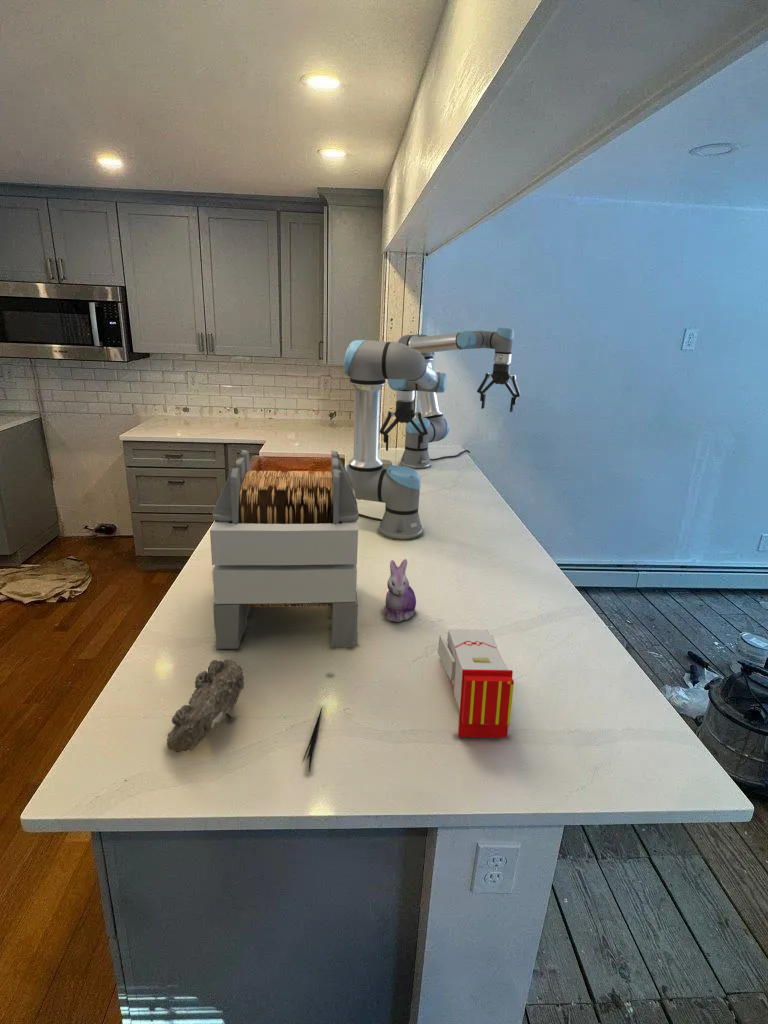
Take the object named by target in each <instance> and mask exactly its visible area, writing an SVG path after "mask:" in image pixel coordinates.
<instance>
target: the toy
mask: <svg viewBox="0 0 768 1024" xmlns="http://www.w3.org/2000/svg"><path fill="white" fill-rule="evenodd" d="M446 640H447V643H446V641H445V639H444V636H443V635H442V634H439V637H438V646H437V656H438V657H439V659H440V661H441V663H442V666H443V668H444V670H445V672H446V674H447V677H448V679H449V681H450V684H451V687H452V690H453V693H454V697H455V701H456V705H457V708H458V711H459V714H458V715H459V716H458V730H457V731H458V732H457V737H458V738H508V731H509V726H510V725H511V717H512V707H513V697H514V696H513V695H514V684H515V680H514V679H513V673H514V671H513V670H512V669H508V667H507V665H506V662H505V661H504V659H503V658H502V655H501V653H500V651H499V649H498V647H497V643H496V639H495V637H494V635H493V634H491V632H490V631H489V629H467V628H466V629H465V628H463V629H461V628H460V629H459V628H448V630H447V639H446Z"/></svg>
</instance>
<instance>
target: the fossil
mask: <svg viewBox="0 0 768 1024" xmlns="http://www.w3.org/2000/svg"><path fill="white" fill-rule="evenodd" d="M243 670H244V669H243V667H242V665H240V664H237V662H236V661H235V660H234V659H232V658H231V659H227V658H226V659H224V660H223V661H222V660H217V659H212V660H211V661H210V663H209V665H208V666H207V671H201V672H199V673H198V674H197V675H196V676H195V680H194V684H195V685H194V687H195V689H194V690H193V693H192V694H191V697H190V698H189V700H188V704H184V705H182V706H181V707H180V709H177V710H176V711H175V713H174V715H173V716H172V718H171V723H172V724H173V727H172V730H171V731H170V732H168V734H167V738H166V741H167V742H166V745H167V749H168V750H169V751H173V752H174V753H176V754H178V753H182V752H188V751H189V752H192V751H193V750H195V748H196V747H197V746H199V744H200V743H201V742H203V741H204V740H205V739H206V738H207V737H208V736H209V735H210V734H211V733H212V732H214V730H215V729H217V727H218V726H219V724H220V722H221V721H222V720H223V719H224V718H225V716H226V717H227V719H229V720H233V717H232V715H230V714H229V710H230V709H231V708H234V706H235V704H236V703H237V702H238V699H239V697H240V695H241V693H242V691H243V690H245V689H244V688H245V675H244V671H243Z"/></svg>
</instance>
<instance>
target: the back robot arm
mask: <svg viewBox="0 0 768 1024" xmlns="http://www.w3.org/2000/svg"><path fill="white" fill-rule="evenodd" d="M514 334H515V330H514V329H513V328H512V327H497V329H496V331H490V330H489V331H488V330H473V331H472V330H464V331H461V332H450V333H444V334H433V335H427V334H422V333H421V334H406V335H403V336H401V337H400V338H399V339H398V341H397V342H398V343H402V344H405V345H407V346H409V347H411V348H413V349H415V350H417V351H418V352H419V353H421V354H422V355H423V356H424V358H425V359H426V362H427V364H428V365H429V366H430V367H431V368H432V369H433V366H432V363H433V361H434V355H435V353H439V352H440V353H441V352H449V351H460V350H472V349H473V350H474V349H488V350H489V349H490V350H494V355H493V356H494V357H493V362H494V363H493V367H492V372H491V373H490V372H486V373H485V375H484V378H483V380H482V381H481V383H480V385H479V387H478V388H477V390H476V393H478V394H480V395H479V401H480V402H481V406H480V407H481V410H483V409H485V406H486V397H487V393H486V392H487V391H488V390H489V389H490V388H491V387H492V386H493V385H501V386H503V385H504V386H505V387H506V388H507V390H508V391H509V394H511V396H512V397H511V398H510V406H509V413H513V411H514V406H515V405H516V404H517V398H519V397H521V396H522V393H521V390H520V387H519V384H518V382H517V375H516V374H513V375H510V372H511V371H510V370H511V363H512V351H513V343H514V339H515V338H514V336H515V335H514ZM490 378H491V379H492V380H491V381H490V382H489V383H488V384H487V382H488V381H489V379H490ZM509 380H511V382H512V385H513V387H512V385H511V384H510V382H509ZM486 384H487V385H486ZM418 395H419V400H420V407H421V411H422V413H421V418H422V421H423V423H424V425H425V428H426V430H427V432H428V434H427V435H424V436H423V443H420V451H418V450H417V445H418V435H420V434H419V432H418V431H417V430H416V429H415V427H414V426H413V425H412V424H411V422H409V423H405V424H406V425H405V437H404V450H403V453H402V456H401V458H400V461H399V462H400V465H401V466H406V467H409V468H412V469H414V470H423V469H428V468H430V467H431V462H432V461H440V460H443V459H450V458H457V457H459V456H461V455H462V454H464V453H469V454H471V451H470V450H469V449H464V450H462V451H460V452H458V454H455V455H446V456H440V457H436V458H430V455H429V444H430V443H434V442H440V441H442V440H444V439H446V438H447V436H448V435H449V432H450V423H449V421H448V420H447V419H446V418H444V414H443V412H442V411H440V409H439V408H440V407H439V403H438V402H439V401H438V397H437V393H435V392H426V391H418ZM412 420H413V421H414V422H415V424H416V425H417V426H418V427H419V429H420V430H421V431H422V432H423V428H422V426H421V424H420V422H419V419H418V418H417V417H413V418H412Z"/></svg>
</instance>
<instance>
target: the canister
mask: <svg viewBox="0 0 768 1024" xmlns="http://www.w3.org/2000/svg"><path fill="white" fill-rule="evenodd" d="M379 459H380V460H381V461H382V469H387V468H388V467H389V466H391V465H393V462H392V460H390V459H385V458H384V459H381V458H379Z"/></svg>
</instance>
